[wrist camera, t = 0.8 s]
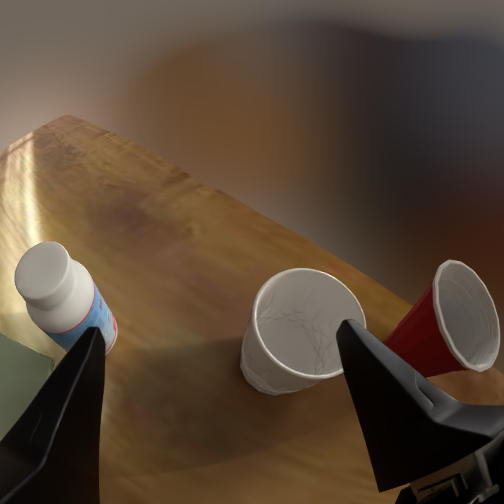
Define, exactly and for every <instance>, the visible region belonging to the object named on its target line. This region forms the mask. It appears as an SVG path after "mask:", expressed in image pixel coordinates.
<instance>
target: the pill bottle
mask: <svg viewBox="0 0 504 504" xmlns="http://www.w3.org/2000/svg"><path fill="white" fill-rule="evenodd" d="M15 285H16V288H17V290H18V292H19V293H20V295H21V296H22V297H23V298H24V300H25V301H26V306H27V310H28V313H29V315H30V317H31V319H32V320H33V321H34V322H35V324H36V325H37V326H38V327H39V328H40V329H42V330H43V331H44V332H45V333H46V334H47V335H48V336H49V337H50V338H52V339H53V340H54V341H55V342H56V343H57V344H58V345H59V346H61V347H62V348H63V349H64V350H66V351H67V352H68V351H69V350H70V349H71V347H72V346H73V345H74V343H75V342H76V341H77V340H78V338H79V337H80V336H81V335H82V333H83V332H84V331H85V330H86V329H87V328H88V327H89V326H93V327H99V328H100V330H101V332H102V335H103V337H104V340H105V343H106V351H105V356H106V355H107V354H108V353H109V352H110V350H111V349H112V347H113V346H114V343H115V341H116V338H117V324H116V321H115V318H114V316H113V315H112V313H111V311H110V310H109V308H108V306H107V305H106V303H105V301H104V299H103V298H102V296H101V294H100V293H99V291H98V289H97V287H96V285H95V283H94V282H93V280H92V278H91V276H90V274H89V273H88V271H87V270H86V269H85V267H84V266H83V265H81V264H80V263H79V262H77V261H75V260H72V259H71V257H70V256H69V254H68V252H67V251H66V249H65V248H64V247H63V246H62V245H61V244H59V243H56V242H42V243H39V244H37V245H35V246H33V247H32V248H30V249H29V250H28V251H27V252H26V253H25V254H24V255H23V256H22V258H21V259H20V261H19V263H18V265H17V268H16V271H15Z"/></svg>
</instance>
